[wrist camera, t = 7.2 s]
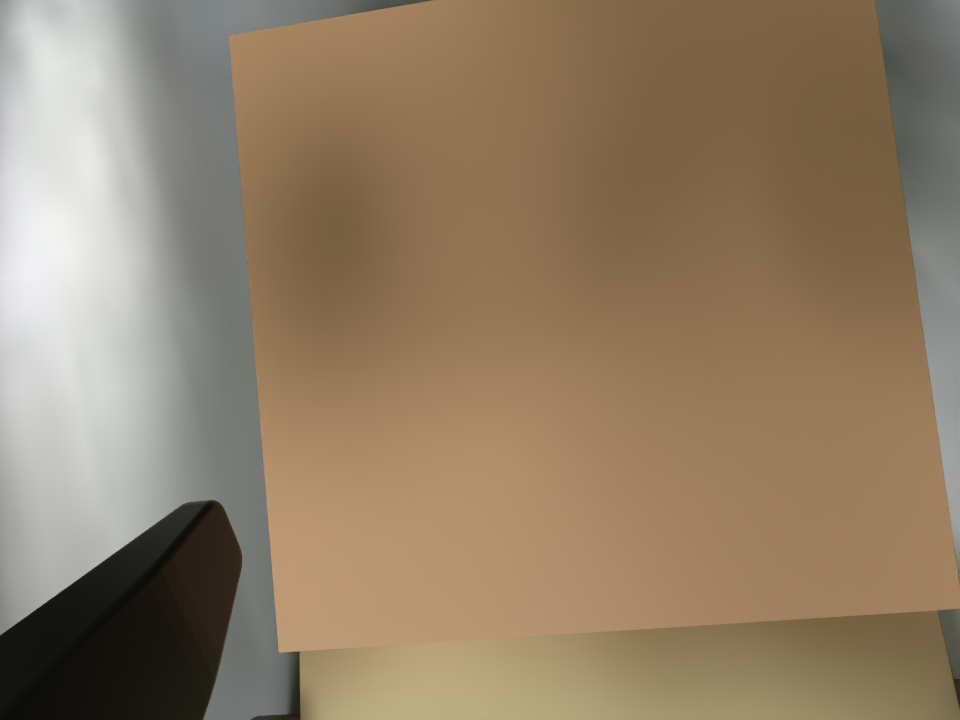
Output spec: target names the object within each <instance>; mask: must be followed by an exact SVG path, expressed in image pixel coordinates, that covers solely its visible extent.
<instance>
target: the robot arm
mask: <svg viewBox="0 0 960 720" xmlns="http://www.w3.org/2000/svg"><path fill="white" fill-rule="evenodd" d="M241 568H242V553H241V549H240V546H239V543H238V541H237V538H236V536H235V534H234V531H233V529H232V526H231V524H230V521H229V519H228V517H227V514H226V512H225V510H224V508H223V506H222V505H221V504H220V503H219V502H217V501H215V500H208V501H197V502H188V503H185V504H183V505H181V506H180V507H178V508H177V509H176V510H174V511H173V512H171V513H170V514H169V515H167V516H166V517H164V518H163V519H162V520H160V521H159V522H157V523H156V524H155V525H153V526H152V527H150V528H149V529H148V530H146V531H145V532H144V533H142V534H141V535H139V536H138V537H137V538H135V539H134V540H132V541H131V542H130V543H128V544H127V545H125V546H124V547H123V548H121V549H120V550H119V551H117V552H116V553H114V554H113V555H112V556H110V557H109V558H107V559H106V560H105V561H103V562H102V563H100V564H99V565H98V566H96V567H95V568H93V569H92V570H91V571H89V572H88V573H87V574H85V575H84V576H82V577H81V578H80V579H78V580H77V581H75V582H74V583H73V584H71V585H70V586H68V587H67V588H66V589H64V590H63V591H61V592H60V593H59V594H57V595H56V596H55V597H53V598H52V599H50V600H49V601H48V602H46V603H45V604H43V605H42V606H41V607H39V608H38V609H36V610H35V611H34V612H32V613H31V614H29V615H28V616H27V617H25V618H24V619H23V620H21V621H20V622H18V623H17V624H16V625H14V626H13V627H11V628H10V629H9V630H7V631H6V632H4V633H3V634H2V635H0V720H203V718H204V716H205V713H206V710H207V707H208V704H209V701H210V698H211V694H212V691H213V688H214V685H215V682H216V678H217V674H218V670H219V666H220V662H221V658H222V653H223V649H224V644H225V640H226V636H227V631H228V627H229V622H230V618H231V613H232V609H233V604H234V600H235V595H236V591H237V587H238V582H239V578H240V573H241Z"/></svg>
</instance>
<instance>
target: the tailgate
mask: <svg viewBox="0 0 960 720" xmlns="http://www.w3.org/2000/svg"><path fill="white" fill-rule="evenodd" d="M229 42H230V55H231V67H232V79H233V92H234V104H235V116H236V129H237V141H238V153H239V166H240V178H241V190H242V203H243V215H244V227H245V240H246V252H247V264H248V277H249V289H250V301H251V314H252V326H253V338H254V351H255V363H256V375H257V388H258V400H259V412H260V425H261V437H262V449H263V462H264V474H265V486H266V499H267V511H268V523H269V536H270V548H271V560H272V573H273V585H274V597H275V610H276V622H277V634H278V646H279V653H281V652H296V651H312V650H328V649H343V648H359V647H374V646H390V645H406V644H421V643H437V642H452V641H468V640H483V639H499V638H515V637H530V636H546V635H561V634H577V633H593V632H608V631H624V630H639V629H655V628H671V627H686V626H702V625H717V624H733V623H749V622H764V621H780V620H795V619H811V618H827V617H842V616H858V615H873V614H889V613H905V612H920V611H936V610H951V609H960V584H959V577H958V570H957V563H956V556H955V550H954V543H953V536H952V529H951V522H950V515H949V508H948V501H947V494H946V487H945V480H944V473H943V467H942V460H941V453H940V446H939V439H938V432H937V425H936V418H935V411H934V404H933V397H932V391H931V384H930V377H929V370H928V363H927V356H926V349H925V342H924V335H923V328H922V321H921V314H920V308H919V301H918V294H917V287H916V280H915V273H914V266H913V259H912V252H911V245H910V238H909V231H908V225H907V218H906V211H905V204H904V197H903V190H902V183H901V176H900V169H899V162H898V155H897V148H896V142H895V135H894V128H893V121H892V114H891V107H890V100H889V93H888V86H887V79H886V72H885V65H884V59H883V52H882V45H881V38H880V31H879V24H878V17H877V10H876V3H875V0H432V1H426V2H420V3H414V4H408V5H403V6H397V7H391V8H385V9H380V10H374V11H368V12H362V13H356V14H351V15H345V16H339V17H333V18H327V19H322V20H316V21H310V22H304V23H299V24H293V25H287V26H281V27H275V28H270V29H264V30H258V31H252V32H246V33H241V34H235V35H229Z"/></svg>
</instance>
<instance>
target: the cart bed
mask: <svg viewBox="0 0 960 720" xmlns="http://www.w3.org/2000/svg"><path fill="white" fill-rule="evenodd" d="M251 720H960V679H953V677H952V673H951V668H950V664H949V659H948V655H947V651H946V646H945V642H944V637H943V633H942V628H941V624H940V619H939V615H938V610H936V611H920V612H905V613H889V614H873V615H858V616H842V617H827V618H811V619H795V620H780V621H764V622H749V623H733V624H717V625H702V626H686V627H671V628H655V629H639V630H624V631H608V632H593V633H577V634H561V635H546V636H530V637H515V638H499V639H483V640H468V641H452V642H437V643H421V644H406V645H390V646H374V647H359V648H343V649H328V650H312V651H300V714H288V715H269V716H257V717H254V718H253V719H251Z"/></svg>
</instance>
